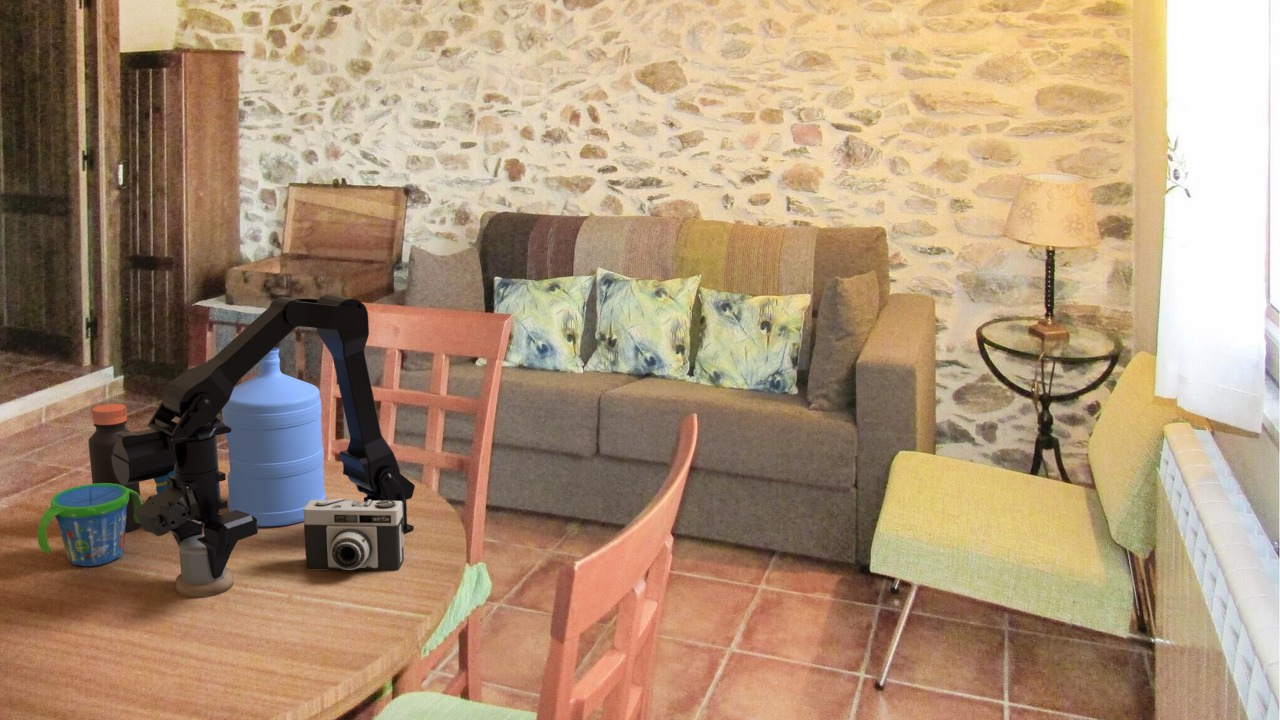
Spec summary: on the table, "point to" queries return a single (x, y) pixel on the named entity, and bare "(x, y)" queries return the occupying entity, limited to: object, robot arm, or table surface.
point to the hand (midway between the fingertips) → (204, 572)
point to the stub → (204, 587)
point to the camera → (354, 534)
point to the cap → (196, 562)
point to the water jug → (274, 445)
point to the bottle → (110, 451)
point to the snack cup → (90, 522)
